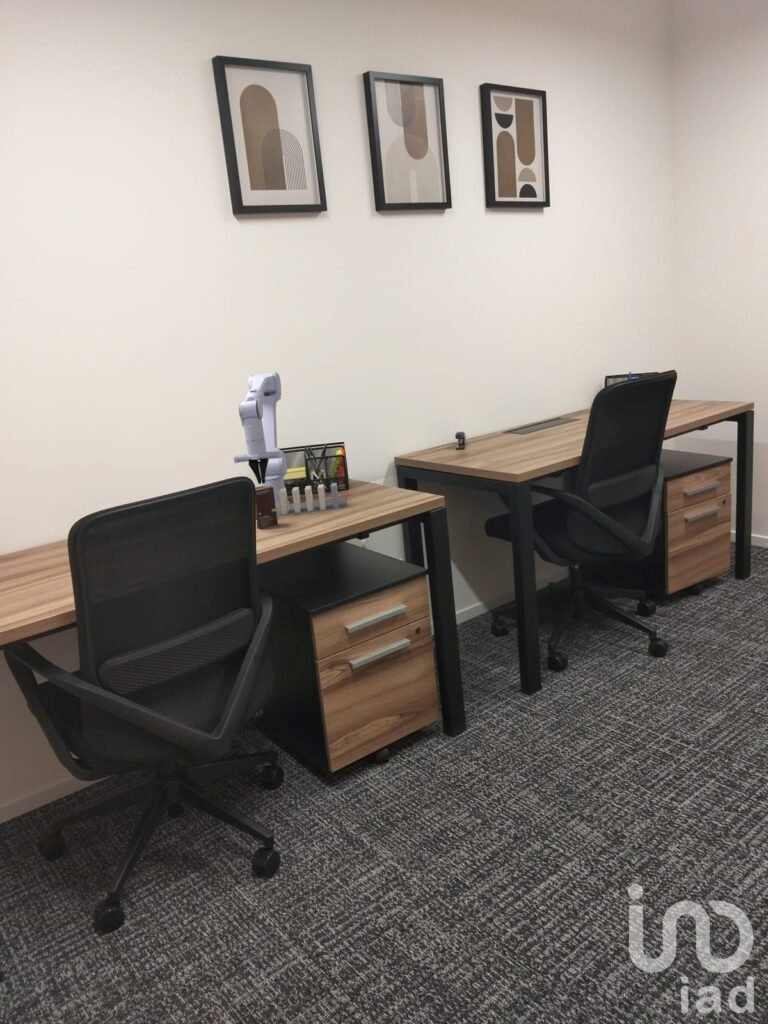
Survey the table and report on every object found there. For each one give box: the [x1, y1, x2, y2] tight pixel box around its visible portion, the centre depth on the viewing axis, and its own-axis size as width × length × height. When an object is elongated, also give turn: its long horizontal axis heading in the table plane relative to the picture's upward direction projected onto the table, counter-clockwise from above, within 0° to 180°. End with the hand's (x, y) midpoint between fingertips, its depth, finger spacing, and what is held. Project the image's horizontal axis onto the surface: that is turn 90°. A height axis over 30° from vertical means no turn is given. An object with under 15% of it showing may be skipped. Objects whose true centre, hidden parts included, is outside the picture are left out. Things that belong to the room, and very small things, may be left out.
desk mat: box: [276, 497, 348, 517], centre depth 234 cm, size 22×15×1 cm
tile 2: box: [291, 486, 302, 513], centre depth 230 cm, size 2×5×7 cm, turn 1°
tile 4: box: [317, 483, 327, 510], centre depth 230 cm, size 2×5×7 cm, turn 1°
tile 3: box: [304, 485, 314, 511], centre depth 230 cm, size 2×5×7 cm, turn 1°
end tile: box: [329, 482, 339, 508], centre depth 230 cm, size 2×5×7 cm, turn 0°
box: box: [255, 485, 279, 530], centre depth 215 cm, size 6×4×12 cm
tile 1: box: [279, 487, 289, 514], centre depth 230 cm, size 2×5×7 cm, turn 1°
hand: (261, 483), depth 228 cm, fingers closed
